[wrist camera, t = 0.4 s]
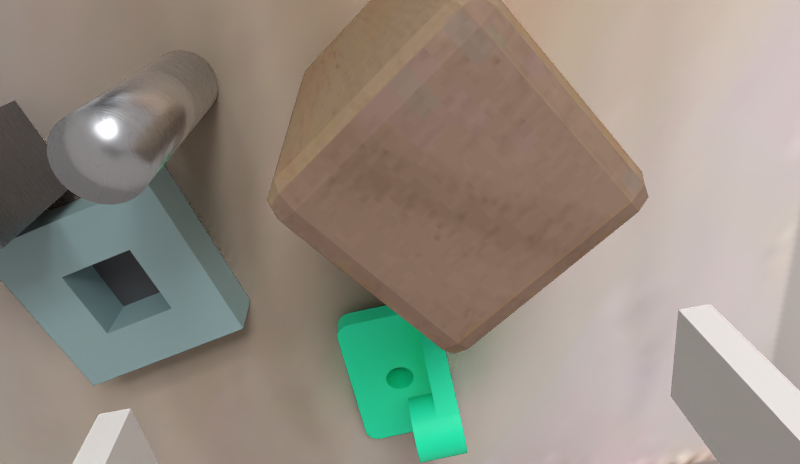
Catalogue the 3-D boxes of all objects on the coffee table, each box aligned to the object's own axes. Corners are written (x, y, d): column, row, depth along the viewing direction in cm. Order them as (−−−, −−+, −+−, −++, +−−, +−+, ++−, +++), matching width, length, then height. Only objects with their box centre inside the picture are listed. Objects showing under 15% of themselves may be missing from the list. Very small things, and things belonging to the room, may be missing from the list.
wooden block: (404, 180, 40) (455, 372, 22) (295, 79, 36) (250, 212, 18) (514, 77, 37) (671, 201, 19) (408, -44, 33) (484, -28, 16)
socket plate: (6, 228, 39) (-23, 253, 35) (163, 163, 38) (147, 183, 34) (111, 354, 44) (93, 385, 41) (250, 300, 43) (242, 328, 40)
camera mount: (334, 307, 44) (332, 402, 35) (430, 287, 44) (453, 377, 35) (367, 417, 50) (373, 524, 41) (452, 399, 50) (477, 502, 41)
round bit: (138, 65, 35) (24, 134, 22) (197, 40, 34) (114, 95, 22) (174, 124, 36) (86, 218, 24) (229, 101, 36) (171, 183, 24)
